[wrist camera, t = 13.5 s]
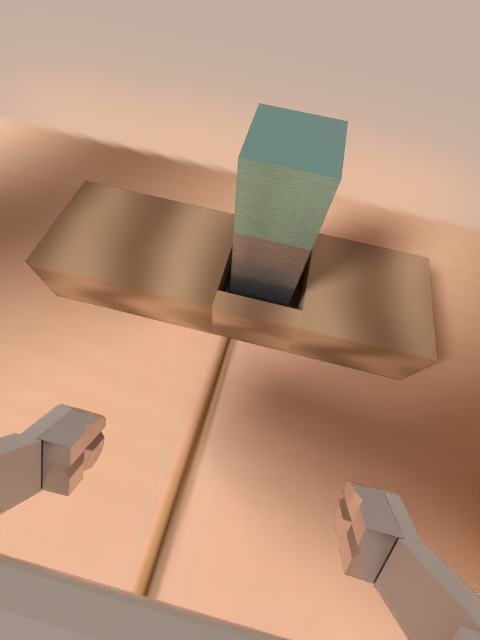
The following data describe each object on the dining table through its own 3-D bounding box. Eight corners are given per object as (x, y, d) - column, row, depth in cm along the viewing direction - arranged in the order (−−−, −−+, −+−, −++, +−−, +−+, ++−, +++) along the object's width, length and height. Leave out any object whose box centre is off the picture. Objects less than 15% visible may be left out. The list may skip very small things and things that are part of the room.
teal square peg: (228, 309, 22) (238, 157, 11) (240, 268, 24) (259, 103, 13) (280, 322, 22) (341, 179, 11) (289, 279, 23) (347, 121, 13)
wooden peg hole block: (56, 295, 22) (25, 261, 18) (103, 220, 26) (85, 180, 22) (399, 379, 21) (437, 361, 17) (398, 288, 24) (428, 258, 21)
